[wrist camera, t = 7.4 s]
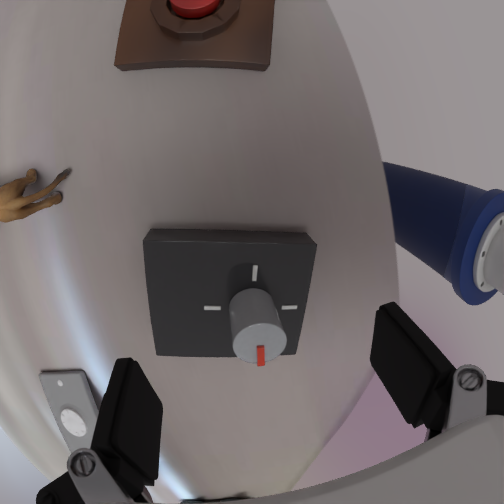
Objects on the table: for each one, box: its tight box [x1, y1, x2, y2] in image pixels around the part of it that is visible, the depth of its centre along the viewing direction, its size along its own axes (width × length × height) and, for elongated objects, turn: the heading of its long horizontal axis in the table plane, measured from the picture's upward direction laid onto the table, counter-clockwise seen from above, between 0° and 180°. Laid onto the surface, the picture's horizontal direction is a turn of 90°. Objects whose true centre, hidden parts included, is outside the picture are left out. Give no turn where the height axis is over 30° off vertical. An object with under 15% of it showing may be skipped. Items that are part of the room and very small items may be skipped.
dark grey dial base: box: [143, 229, 317, 357], centre depth 26 cm, size 14×12×3 cm
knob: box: [229, 288, 287, 366], centre depth 22 cm, size 4×4×5 cm
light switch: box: [39, 371, 99, 453], centre depth 29 cm, size 8×6×14 cm
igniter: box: [114, 0, 275, 71], centre depth 15 cm, size 12×10×4 cm
